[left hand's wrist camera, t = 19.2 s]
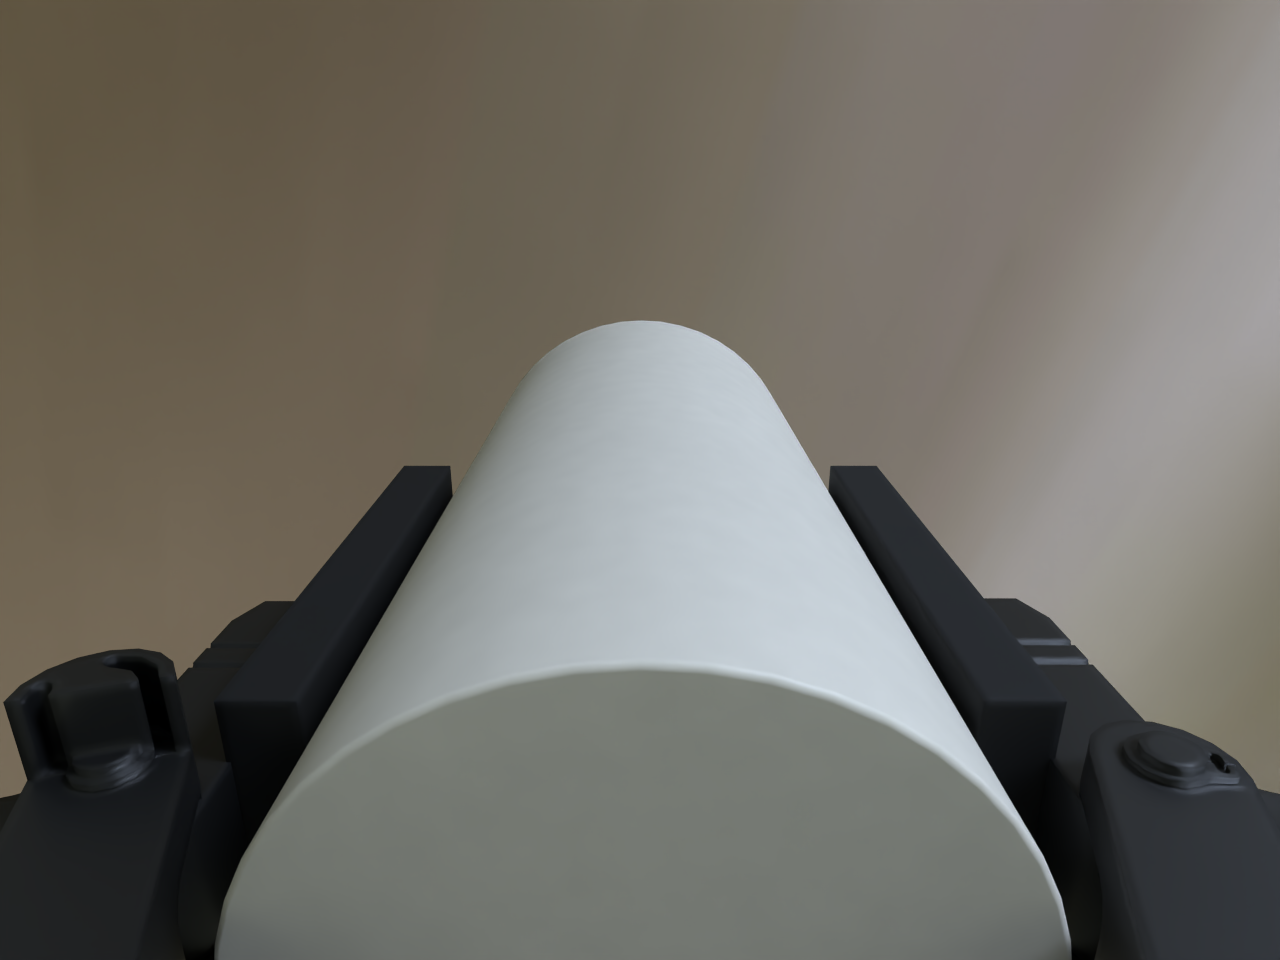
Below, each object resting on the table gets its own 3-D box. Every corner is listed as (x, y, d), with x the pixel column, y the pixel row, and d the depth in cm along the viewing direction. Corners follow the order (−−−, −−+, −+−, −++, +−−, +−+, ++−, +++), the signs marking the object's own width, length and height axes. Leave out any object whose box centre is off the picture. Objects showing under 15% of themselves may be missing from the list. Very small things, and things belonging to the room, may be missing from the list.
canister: (468, 342, 17) (77, 724, 5) (774, 300, 17) (1099, 604, 5) (525, 610, 19) (337, 1316, 7) (797, 577, 19) (1059, 1256, 7)
